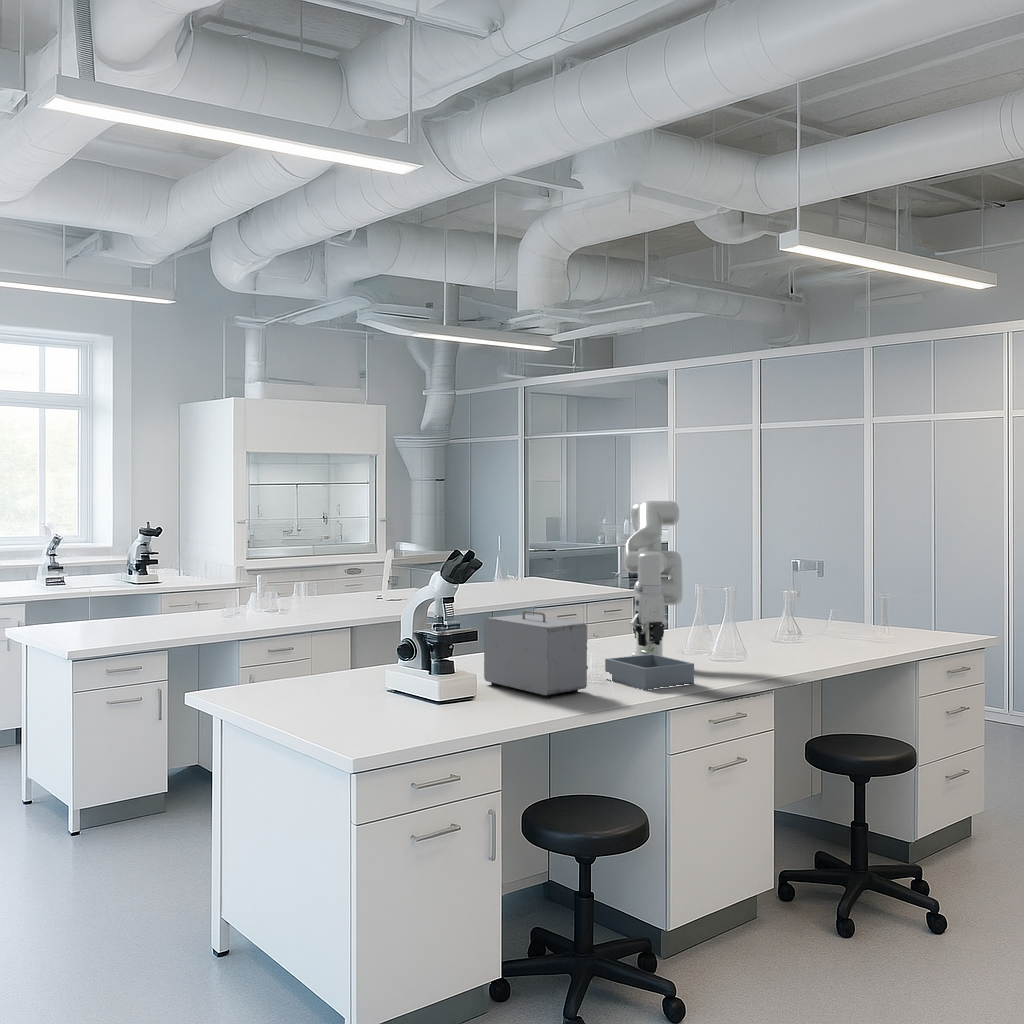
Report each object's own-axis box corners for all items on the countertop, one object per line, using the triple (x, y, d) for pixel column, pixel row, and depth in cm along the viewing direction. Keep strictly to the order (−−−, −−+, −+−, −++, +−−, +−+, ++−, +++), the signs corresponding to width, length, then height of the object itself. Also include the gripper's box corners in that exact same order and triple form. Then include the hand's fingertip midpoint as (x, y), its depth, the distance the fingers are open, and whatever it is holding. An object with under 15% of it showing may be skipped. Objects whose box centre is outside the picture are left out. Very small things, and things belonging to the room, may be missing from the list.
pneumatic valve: (652, 656, 318) (652, 619, 318) (632, 651, 328) (632, 615, 328) (666, 655, 321) (666, 618, 320) (645, 650, 331) (645, 615, 331)
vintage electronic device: (591, 692, 307) (591, 613, 307) (548, 700, 296) (548, 618, 296) (526, 678, 332) (526, 604, 332) (484, 684, 321) (484, 608, 320)
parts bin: (605, 679, 330) (605, 658, 329) (652, 674, 339) (652, 654, 339) (645, 690, 310) (645, 668, 310) (694, 684, 320) (694, 663, 320)
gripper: (635, 592, 317) (635, 648, 317) (676, 590, 325) (676, 644, 325) (621, 590, 323) (621, 645, 324) (662, 588, 332) (662, 641, 332)
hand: (649, 644), depth 325 cm, fingers closed on pneumatic valve, 5 cm apart
